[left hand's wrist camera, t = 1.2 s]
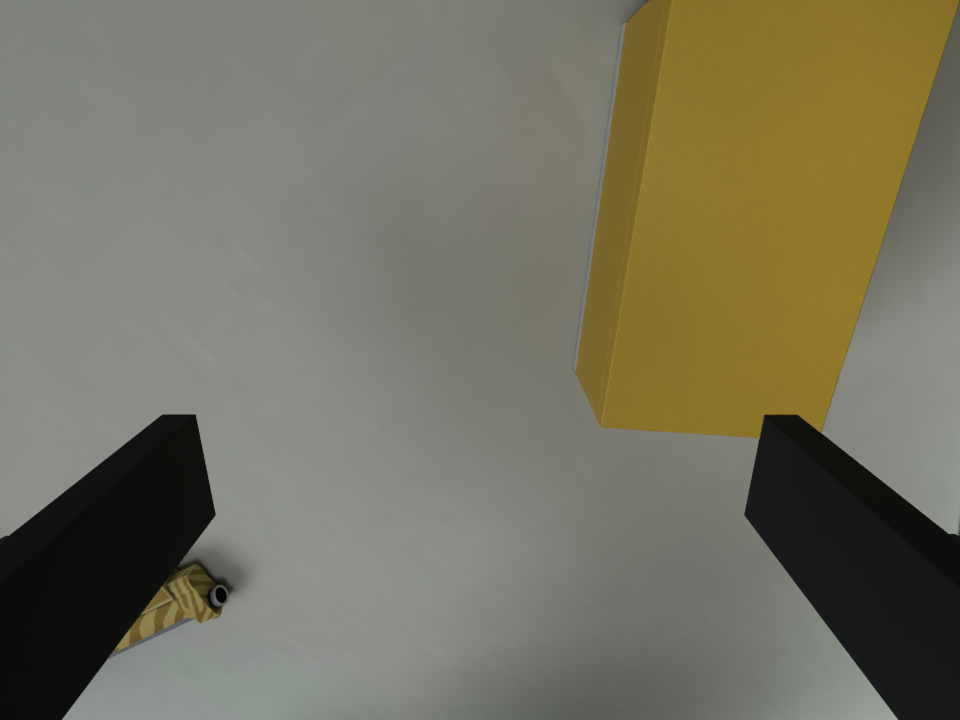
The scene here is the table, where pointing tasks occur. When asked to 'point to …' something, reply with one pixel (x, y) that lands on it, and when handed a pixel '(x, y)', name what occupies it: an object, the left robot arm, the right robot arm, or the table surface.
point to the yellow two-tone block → (746, 203)
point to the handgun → (177, 606)
